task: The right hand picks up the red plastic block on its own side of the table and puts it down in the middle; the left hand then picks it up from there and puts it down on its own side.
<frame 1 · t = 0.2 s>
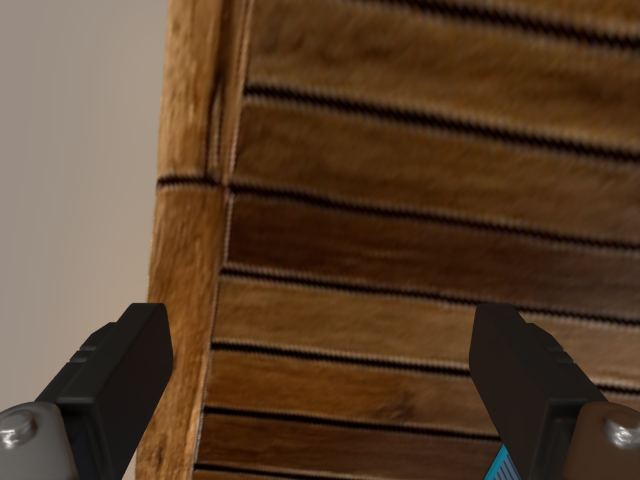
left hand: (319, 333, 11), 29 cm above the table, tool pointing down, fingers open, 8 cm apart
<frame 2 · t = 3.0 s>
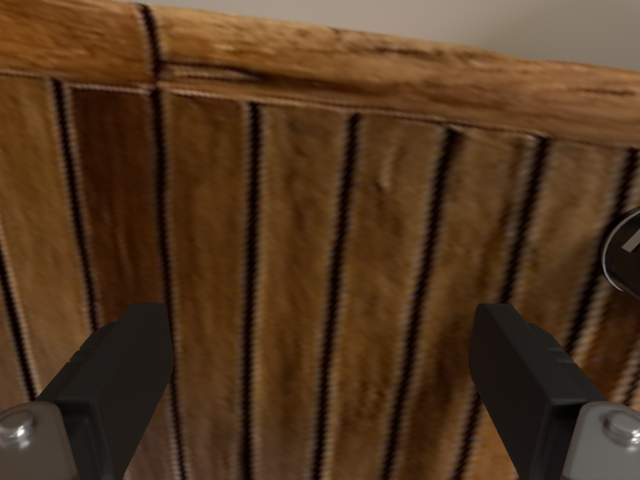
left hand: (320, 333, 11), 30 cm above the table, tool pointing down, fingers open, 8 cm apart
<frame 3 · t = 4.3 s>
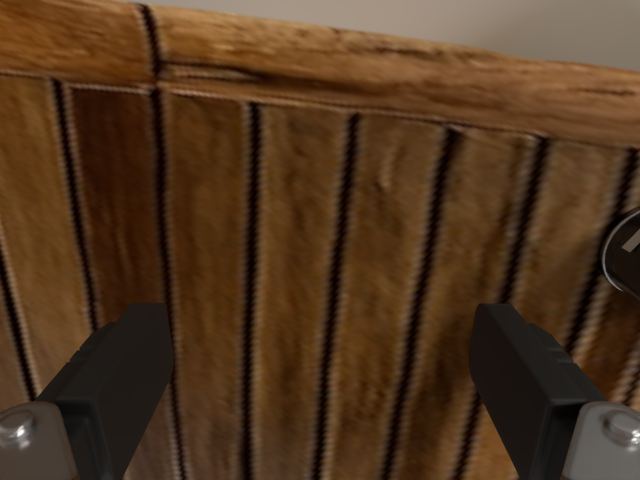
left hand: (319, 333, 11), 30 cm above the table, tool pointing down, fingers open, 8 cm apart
when the right hand's fingers open (1 cm above the table, at t = 5.9 s): block stays where it is, on the table.
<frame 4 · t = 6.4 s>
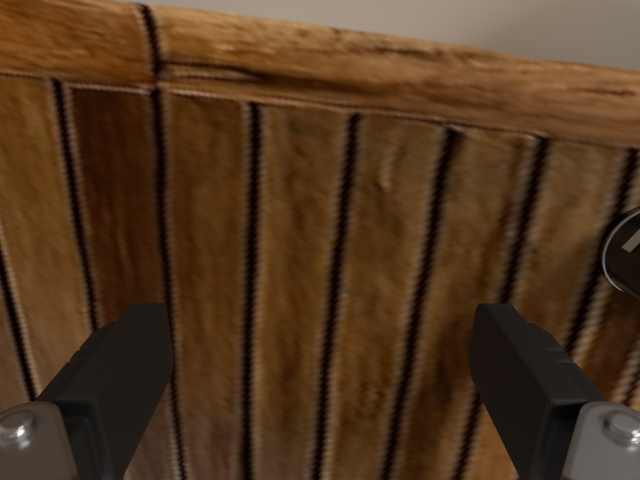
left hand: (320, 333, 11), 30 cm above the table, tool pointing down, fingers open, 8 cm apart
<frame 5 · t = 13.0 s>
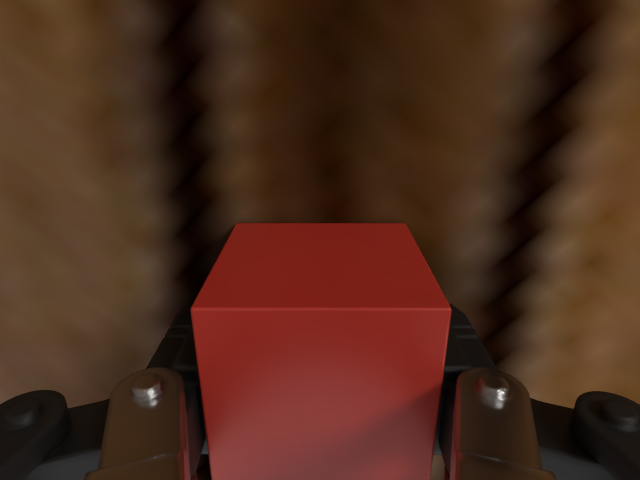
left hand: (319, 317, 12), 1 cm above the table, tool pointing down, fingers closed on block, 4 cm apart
block: (320, 307, 13), on the table, touching left hand
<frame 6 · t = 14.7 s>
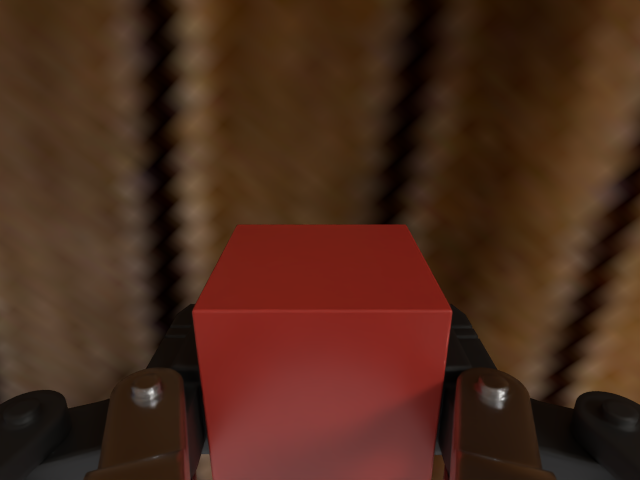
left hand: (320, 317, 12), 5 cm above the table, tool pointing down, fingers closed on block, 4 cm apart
block: (321, 308, 13), point 5 cm above the table, touching left hand
when the left hand's fingers open (1 cm above the table, at t = 16.8 s): block stays where it is, on the table.
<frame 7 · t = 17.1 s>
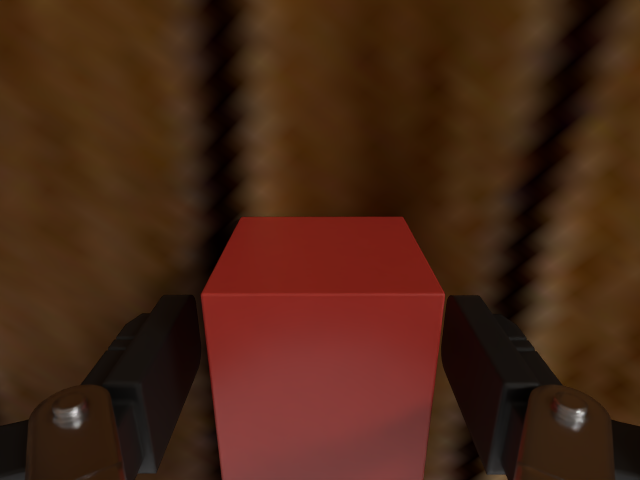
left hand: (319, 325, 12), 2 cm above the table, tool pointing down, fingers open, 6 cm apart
block: (321, 298, 13), on the table
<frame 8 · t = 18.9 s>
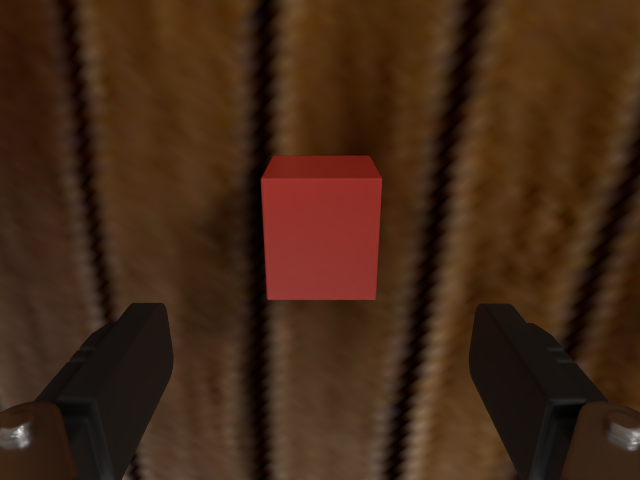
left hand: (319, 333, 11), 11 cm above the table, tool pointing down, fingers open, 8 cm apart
block: (321, 208, 21), on the table
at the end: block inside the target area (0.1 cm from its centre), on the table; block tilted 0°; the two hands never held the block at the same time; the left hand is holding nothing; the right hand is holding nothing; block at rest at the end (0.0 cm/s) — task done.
